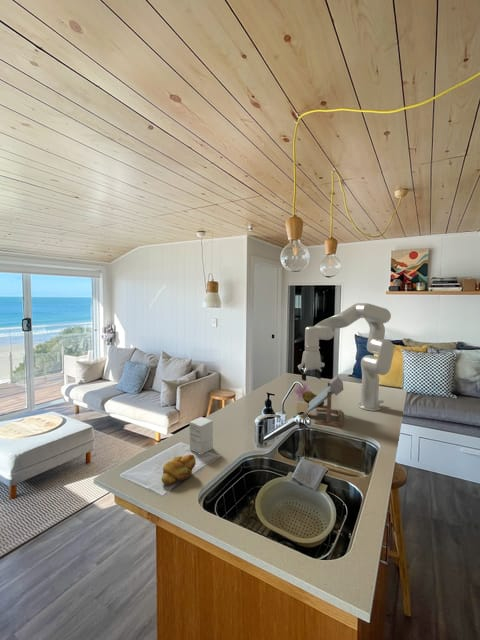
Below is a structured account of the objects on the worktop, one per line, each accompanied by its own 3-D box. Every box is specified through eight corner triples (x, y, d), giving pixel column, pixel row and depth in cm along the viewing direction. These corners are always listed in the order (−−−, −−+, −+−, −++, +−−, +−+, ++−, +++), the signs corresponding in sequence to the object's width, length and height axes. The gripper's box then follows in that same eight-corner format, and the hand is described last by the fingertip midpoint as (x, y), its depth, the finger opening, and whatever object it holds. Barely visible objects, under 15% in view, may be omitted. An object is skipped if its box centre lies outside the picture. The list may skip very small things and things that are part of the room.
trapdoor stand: (341, 411, 178) (342, 383, 177) (342, 426, 157) (343, 394, 156) (316, 409, 182) (317, 381, 181) (314, 423, 161) (315, 391, 160)
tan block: (308, 405, 176) (298, 404, 177) (308, 403, 171) (297, 402, 173) (308, 414, 173) (297, 413, 175) (307, 413, 169) (296, 411, 171)
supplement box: (201, 443, 139) (201, 416, 138) (213, 448, 134) (213, 420, 133) (189, 449, 133) (188, 421, 132) (201, 455, 128) (200, 426, 127)
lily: (289, 399, 202) (292, 389, 197) (295, 388, 211) (298, 378, 206) (306, 407, 198) (310, 397, 193) (312, 396, 207) (315, 386, 202)
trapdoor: (342, 381, 174) (337, 375, 175) (343, 389, 159) (337, 383, 159) (312, 405, 180) (307, 399, 180) (310, 415, 165) (305, 409, 165)
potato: (319, 409, 182) (319, 396, 181) (300, 404, 190) (300, 391, 190) (325, 405, 188) (325, 393, 188) (306, 401, 197) (306, 388, 196)
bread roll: (169, 491, 105) (168, 468, 104) (153, 479, 111) (153, 458, 111) (198, 475, 114) (198, 454, 113) (182, 465, 121) (182, 446, 120)
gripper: (320, 347, 177) (319, 376, 178) (294, 349, 170) (294, 379, 171) (328, 349, 170) (328, 379, 171) (302, 351, 163) (301, 382, 164)
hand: (311, 379), depth 171 cm, fingers open, 9 cm apart
